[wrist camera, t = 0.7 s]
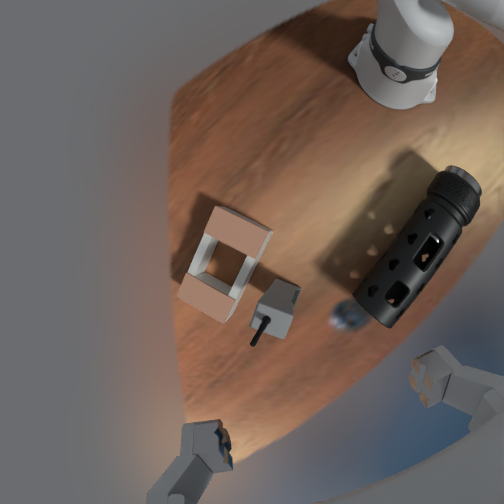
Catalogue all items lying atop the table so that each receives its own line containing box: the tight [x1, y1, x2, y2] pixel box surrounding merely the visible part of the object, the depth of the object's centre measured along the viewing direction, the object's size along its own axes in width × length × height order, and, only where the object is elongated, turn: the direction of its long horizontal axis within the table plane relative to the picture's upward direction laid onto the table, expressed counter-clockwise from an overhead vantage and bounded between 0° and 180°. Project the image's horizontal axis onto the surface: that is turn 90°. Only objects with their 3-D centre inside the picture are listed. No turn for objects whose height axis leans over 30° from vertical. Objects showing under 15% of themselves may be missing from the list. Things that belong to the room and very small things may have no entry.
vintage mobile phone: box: [249, 279, 301, 347], centre depth 42 cm, size 4×5×25 cm
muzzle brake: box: [353, 165, 482, 328], centre depth 43 cm, size 10×28×10 cm, turn 143°
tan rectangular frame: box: [177, 206, 273, 324], centre depth 53 cm, size 18×10×6 cm, turn 154°
